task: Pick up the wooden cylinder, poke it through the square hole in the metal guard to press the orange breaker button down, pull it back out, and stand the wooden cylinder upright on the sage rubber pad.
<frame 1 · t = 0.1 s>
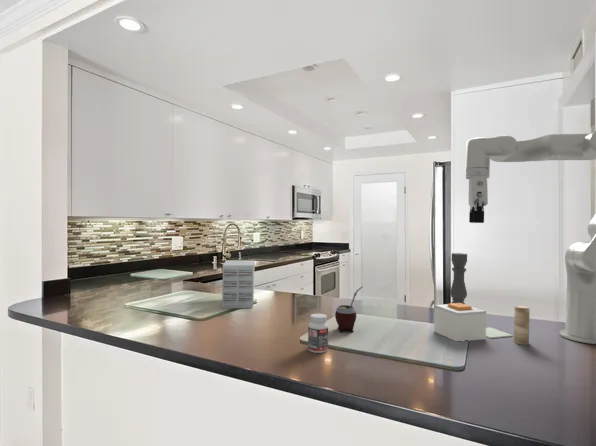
hand: (476, 222, 128), 37 cm above the table, tool pointing down, fingers open, 9 cm apart
pill bottle: (317, 350, 105), on the table
breaker button: (459, 309, 120), point 8 cm above the table, slide at 0.0 cm
mate gourd: (346, 330, 124), on the table
wooden cylinder: (521, 342, 114), on the table
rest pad: (490, 333, 123), on the table
supplement box: (238, 304, 160), on the table
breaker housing: (459, 335, 120), on the table
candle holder: (457, 317, 143), on the table
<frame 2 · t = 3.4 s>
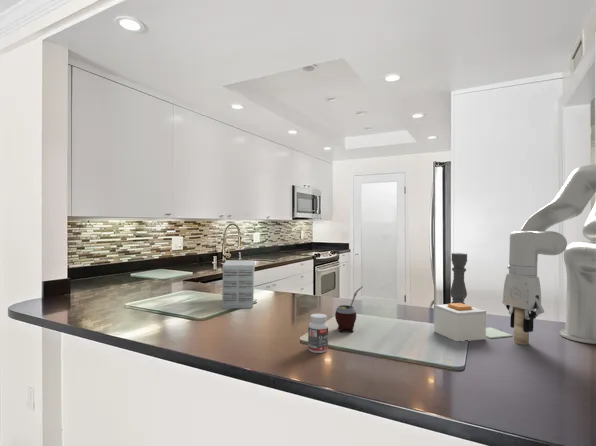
hand: (521, 328, 114), 4 cm above the table, tool pointing down, fingers closed on wooden cylinder, 4 cm apart
wooden cylinder: (521, 342, 114), on the table, touching gripper
everything else where it was.
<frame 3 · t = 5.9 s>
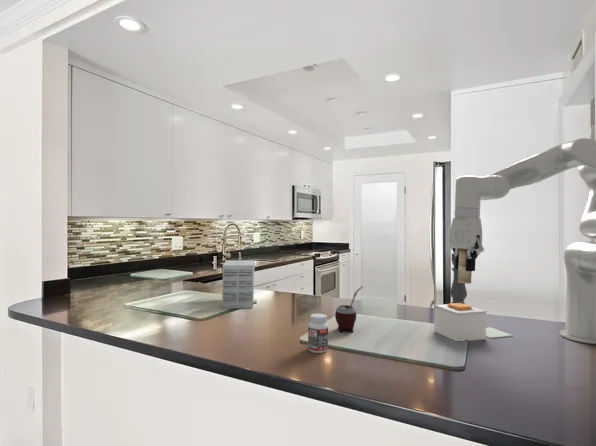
hand: (465, 269, 120), 22 cm above the table, tool pointing down, fingers closed on wooden cylinder, 4 cm apart
wooden cylinder: (464, 282, 120), point 18 cm above the table, touching gripper
everything else where it was.
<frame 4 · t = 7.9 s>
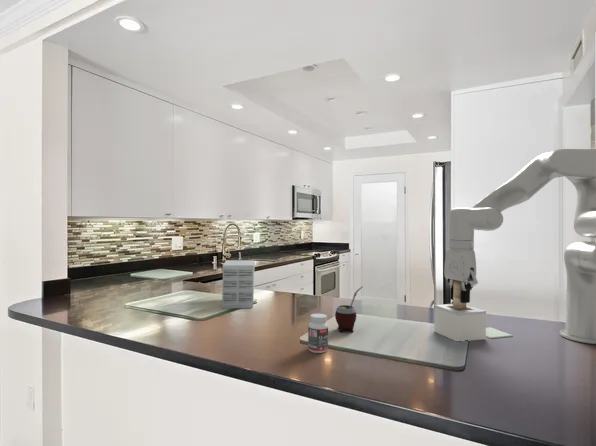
hand: (459, 300, 120), 11 cm above the table, tool pointing down, fingers closed on wooden cylinder, 4 cm apart
breaker button: (459, 317, 120), point 6 cm above the table, slide at 2.8 cm, touching wooden cylinder
wooden cylinder: (459, 313, 120), point 7 cm above the table, touching breaker button, gripper
everything else where it was.
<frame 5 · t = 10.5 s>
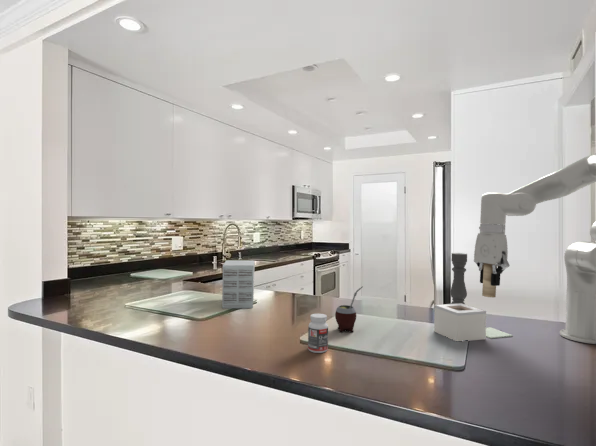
hand: (489, 283, 123), 17 cm above the table, tool pointing down, fingers closed on wooden cylinder, 4 cm apart
breaker button: (459, 318, 120), point 6 cm above the table, slide at 2.8 cm
wooden cylinder: (488, 296, 123), point 13 cm above the table, touching gripper
everything else where it was.
when the fingers open (6 cm above the table, at t = 12.5 s): wooden cylinder drops 1 cm, resting on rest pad.
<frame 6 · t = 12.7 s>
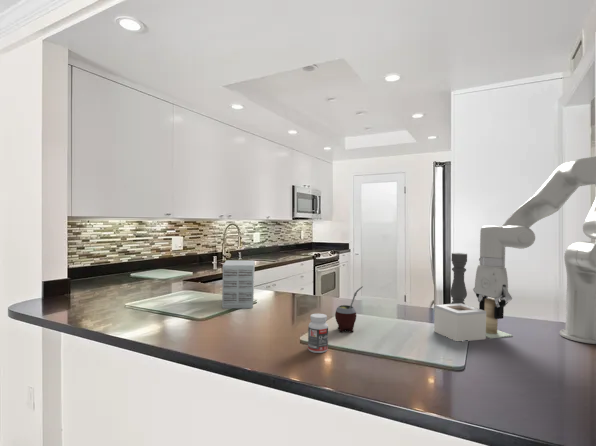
hand: (491, 315, 123), 6 cm above the table, tool pointing down, fingers open, 5 cm apart
wooden cylinder: (490, 332, 123), resting on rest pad
everything else where it was.
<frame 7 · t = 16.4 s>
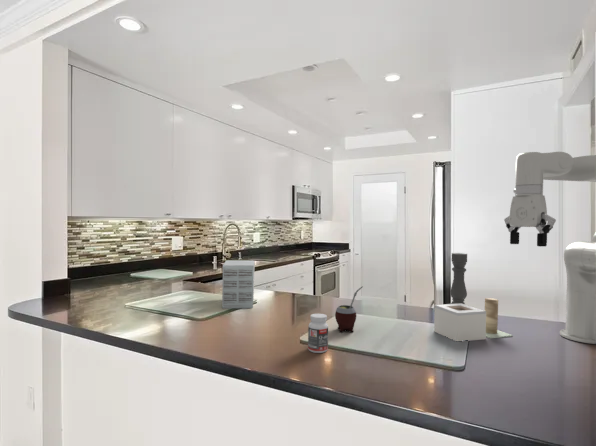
hand: (527, 245, 117), 30 cm above the table, tool pointing down, fingers open, 9 cm apart
nothing on the table moved.
at the end: breaker button slide at 2.8 cm; wooden cylinder inside the target area on the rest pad (0.1 cm from its centre), point 0.4 cm above the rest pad's base; wooden cylinder tilted 1° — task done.
